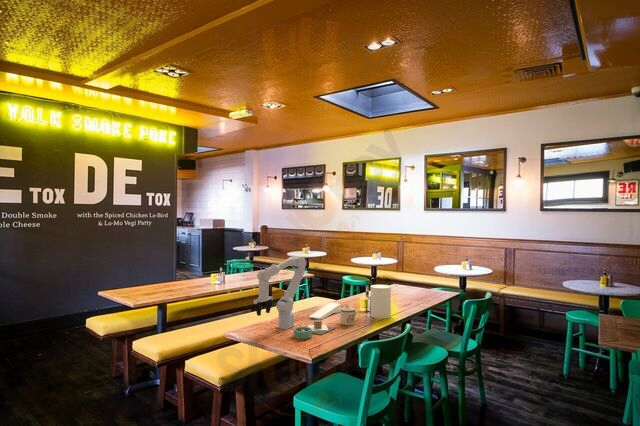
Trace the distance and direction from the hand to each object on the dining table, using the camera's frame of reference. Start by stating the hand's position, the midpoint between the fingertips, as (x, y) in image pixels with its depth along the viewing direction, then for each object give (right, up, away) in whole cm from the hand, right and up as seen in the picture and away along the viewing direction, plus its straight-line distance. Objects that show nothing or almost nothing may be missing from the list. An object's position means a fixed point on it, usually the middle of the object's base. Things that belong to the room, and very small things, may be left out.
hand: (263, 314), depth 226 cm
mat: (+32, -10, +4) cm, 34 cm away
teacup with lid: (+52, -11, +18) cm, 56 cm away
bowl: (+23, -10, -8) cm, 27 cm away
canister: (+74, -11, +36) cm, 83 cm away
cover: (+32, -10, +4) cm, 34 cm away
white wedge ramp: (+37, -11, +39) cm, 55 cm away
